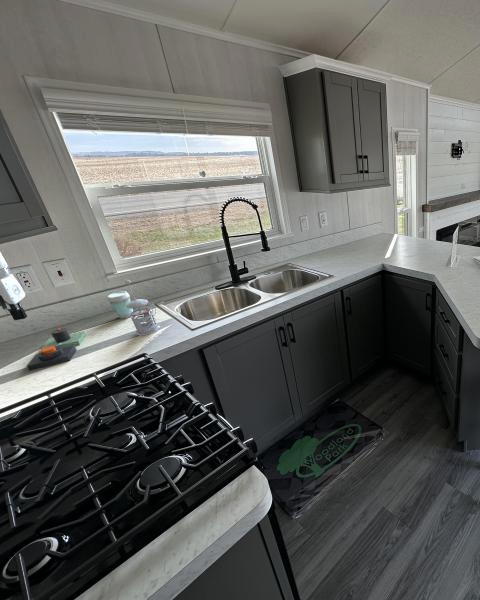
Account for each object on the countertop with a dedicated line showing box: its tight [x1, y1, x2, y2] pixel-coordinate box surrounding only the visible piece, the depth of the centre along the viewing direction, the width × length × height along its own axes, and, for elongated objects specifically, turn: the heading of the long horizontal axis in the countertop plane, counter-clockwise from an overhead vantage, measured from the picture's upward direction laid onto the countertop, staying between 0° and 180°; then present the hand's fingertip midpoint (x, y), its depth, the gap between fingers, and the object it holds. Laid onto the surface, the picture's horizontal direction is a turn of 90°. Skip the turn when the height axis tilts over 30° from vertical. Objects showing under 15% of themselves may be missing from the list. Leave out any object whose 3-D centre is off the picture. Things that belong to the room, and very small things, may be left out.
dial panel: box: [40, 330, 87, 351], centre depth 142 cm, size 12×10×2 cm
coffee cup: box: [107, 290, 134, 320], centre depth 162 cm, size 8×8×12 cm
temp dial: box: [50, 327, 71, 343], centre depth 140 cm, size 5×5×5 cm
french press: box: [124, 279, 161, 337], centre depth 146 cm, size 10×12×25 cm
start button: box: [40, 346, 57, 355], centre depth 129 cm, size 4×4×2 cm
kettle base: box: [26, 346, 78, 371], centre depth 130 cm, size 12×9×4 cm
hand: (21, 318), depth 125 cm, fingers closed
